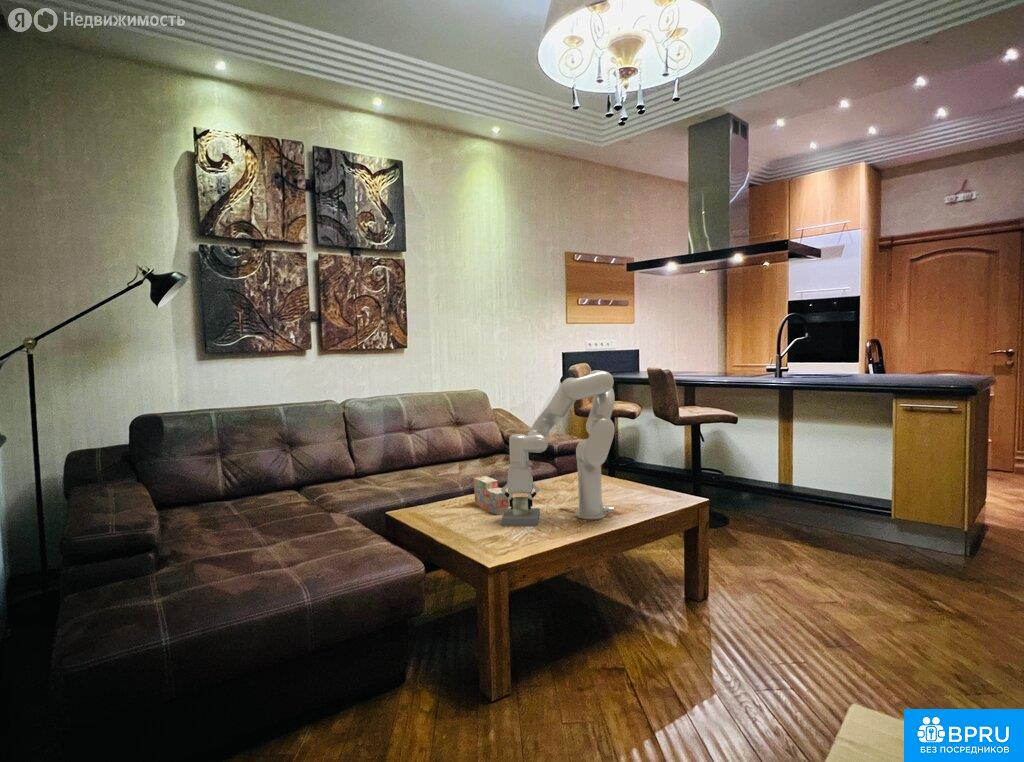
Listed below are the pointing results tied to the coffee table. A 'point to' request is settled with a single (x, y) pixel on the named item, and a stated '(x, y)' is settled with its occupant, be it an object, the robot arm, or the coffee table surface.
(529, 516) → the plinth
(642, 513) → the coffee table surface
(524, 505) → the sage cube
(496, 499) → the stack of blocks
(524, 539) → the coffee table surface
